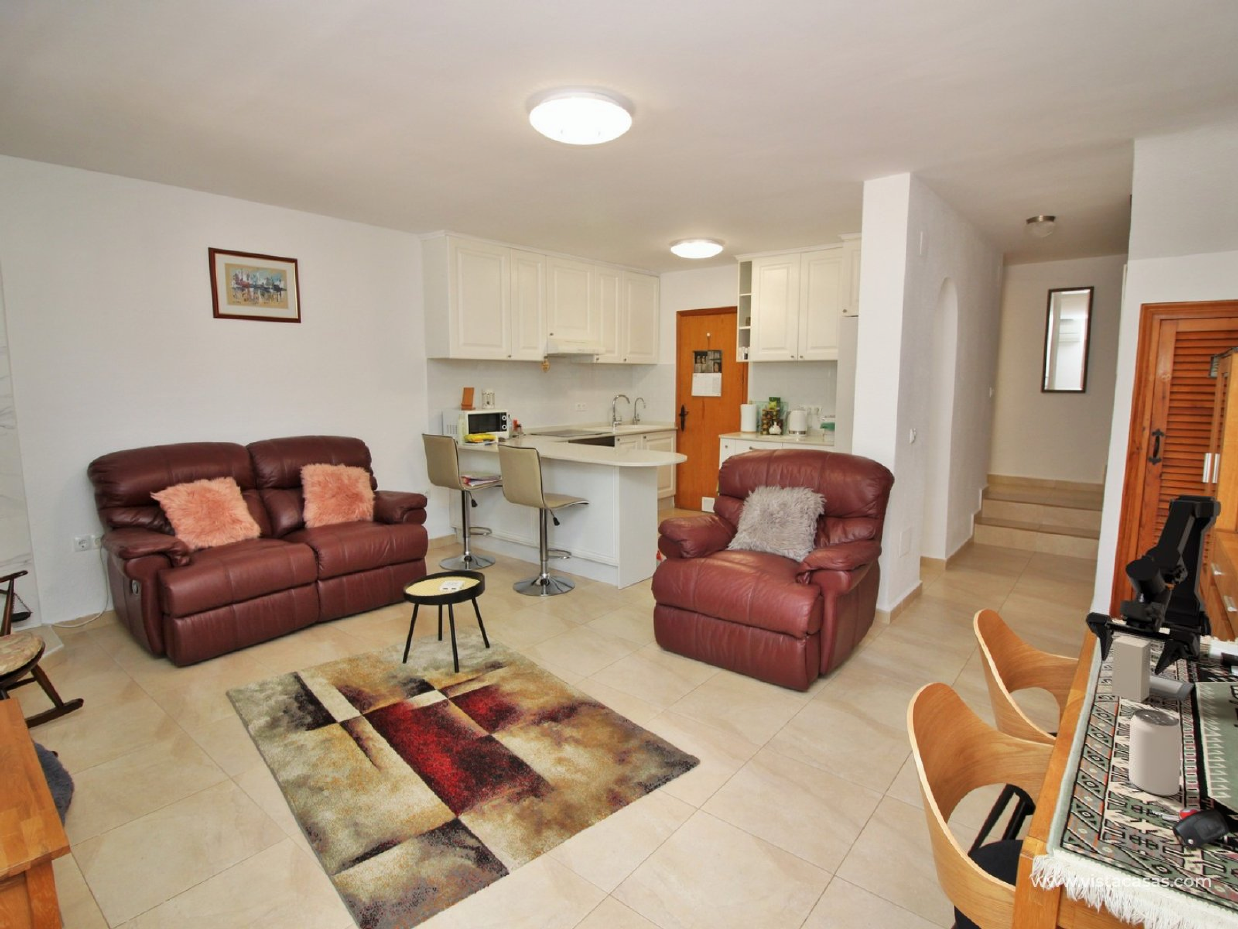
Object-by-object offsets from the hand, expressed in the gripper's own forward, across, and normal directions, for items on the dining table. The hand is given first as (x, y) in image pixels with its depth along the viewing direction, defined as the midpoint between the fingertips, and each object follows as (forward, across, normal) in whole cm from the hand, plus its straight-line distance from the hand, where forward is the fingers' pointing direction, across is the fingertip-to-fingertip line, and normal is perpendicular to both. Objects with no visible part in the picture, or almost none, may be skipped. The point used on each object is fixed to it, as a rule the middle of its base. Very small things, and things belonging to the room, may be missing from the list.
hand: (1128, 667), depth 135 cm
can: (+28, +14, -19) cm, 37 cm away
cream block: (+4, 0, +6) cm, 7 cm away
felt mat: (-3, +2, +12) cm, 13 cm away
